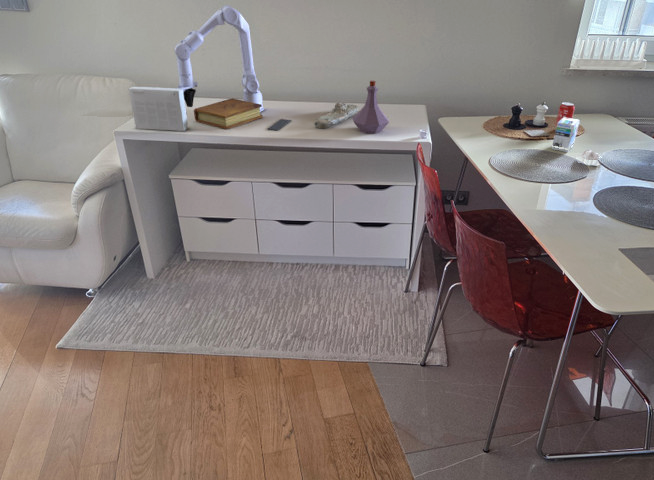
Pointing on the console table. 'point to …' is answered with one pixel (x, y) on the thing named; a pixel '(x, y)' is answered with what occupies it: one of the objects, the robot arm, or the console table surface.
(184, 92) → the robot arm
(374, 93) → the flask
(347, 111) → the elongated rock
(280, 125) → the grey mat
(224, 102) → the diary
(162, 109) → the skincare box
